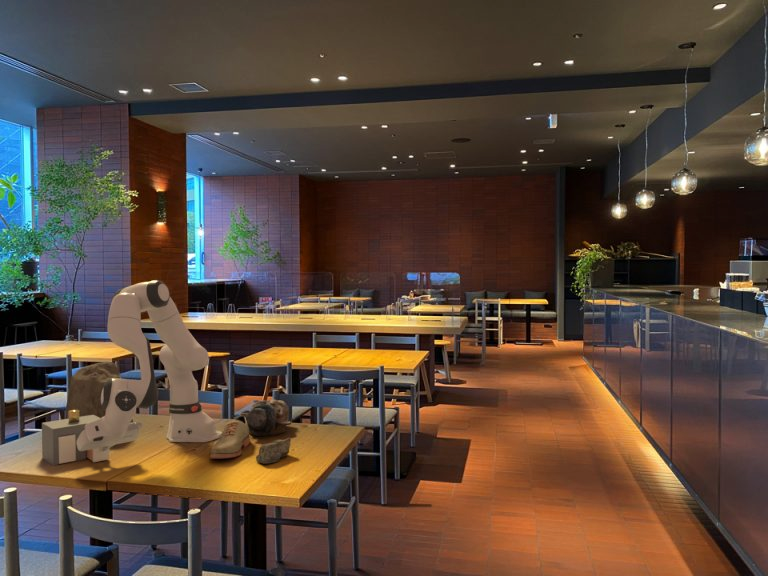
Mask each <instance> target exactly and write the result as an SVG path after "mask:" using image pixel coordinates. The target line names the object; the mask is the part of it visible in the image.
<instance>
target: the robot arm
mask: <svg viewBox="0 0 768 576" xmlns="http://www.w3.org/2000/svg"><path fill="white" fill-rule="evenodd" d="M145 312H147V314H148V317H149V319H150V321H151V324H152V326H153V328H154V330H155V332H156V334H157V336H158V339H160V341H162V342H163V343H164V344H165V345H163V346H162V347H161V349H160V351H159V353H158V358H159V360H160V362H161V363H162V365H163V366H164V369H165V372H166V375H167V379H168V384H169V401H170V402H169V403H168V412H169V423H168V429H167V430H168V431H167V434H166V436H165V438H166V439H167V440H168V441H169V443H171V442H172V443H209V442H211V441H214V440H217V439H219V438H220V436H221V434H222V433H223V431H220V430H217V426H216V425H217V424H216V422H215V420H214V419H213V418H212V417H210V416H209V414H207V413H205V412H204V411H203V408H202V407H204V403H200V401H199V395H198V394H199V384H198V381H197V379H195V377H194V374H193V372H194V371H198V370H202V369H204V368H205V367H206V366H207V364H208V362H209V353H208V351H207V349H206V348H205V347H204V346H202V345H201V344H200V343H199V342H198V341H197V340H196V339H195V337H194V336H193V335H192V333H191V332H190V330H189V329H188V328H187V326H186V325H185V322H184V321H183V319H182V316H181V314H180V312H179V310H178V308H177V305H176V303H175V302H174V300H173V299H172V298H171V292H170V289H169V286H168V285H167V284H166V283H165V282H163V281H162V280H157V279H155V280H151V281H150V280H149V281H143V282H139V283H135V284H133V285H129V286H127V287H121V288H120V289H117V291H115V293H114V294H113V298H112V301H111V303H110V307H109V312H108V318H107V335H108V337H109V339H110V341H111V342H113V344H115V345H116V346H118V347H120V348H122V349H124V350H127V351H128V352H131V353H132V354H133V355H135V356H136V357H137V359H138V362H139V369H140V378H141V379H132V378H131V379H129V378H121V379H119V378H111V379H109V380H108V381H107V382H106V383H105V384H104V385H103V387H102V390H101V394H100V404H101V406H102V408H103V409H104V411H106V415H105V416H104V417H102V418H100V419H98V420H96V421H93V422H90V423H87V424H86V425H85V430H83V431H82V432H81V434H80V435H79V437H78V439H77V442H76V444H77V448H78V450H79V451H85V450H90V449H95V448H99V450H100V452H102V451H107V450H109V451H110V448H112V447H114V446H115V445H121V444H123V443H129V442H134V441H136V440H138V437H139V434H140V429H141V428H142V426H143V424H142V423H141V422H139V421H136V422H133V423H130V422H131V420H132V418H133V419H134V416H135V413H136V411H137V408H138V409H143V410H144V409H145V410H147V409H150V408H151V407H152V406H153V405H155V404H156V403H157V401H158V396H159V390H158V384H157V381H156V380H157V379H156V374H155V369H154V368H155V367H154V361H153V355H152V354H153V353H152V346H151V342H150V340H149V338H148V337H147V336H145V335H144V333H143V331H142V326H141V323H142V322H141V318H142V317H141V315H142V313H145Z"/></svg>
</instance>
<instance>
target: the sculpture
mask: <svg viewBox="0 0 768 576" xmlns="http://www.w3.org/2000/svg"><path fill="white" fill-rule="evenodd" d="M289 412H290V407H289V406H288V404H287V403H286V402H285V401H284V400H277V399H273V398H272V399H270V400H269V401H267V400H265V399H264V400H263V399H262V400H258V401H256V402H255V403H253V404H252V405H251V408H250V410H249V409H248V410H247V409H246V410H243V411H241V412H240V416H245V418H246V421H247V423H248V427H249V435H251V436H253V437H257V438H265V436H266V437H271V436H276V435H280V434H283V433H285V432H286V427H287V426H290V425H292V421H289V414H290V413H289Z"/></svg>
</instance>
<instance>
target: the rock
mask: <svg viewBox="0 0 768 576" xmlns="http://www.w3.org/2000/svg"><path fill="white" fill-rule="evenodd" d="M291 440H292V439H291V438H290V437H287V438H286V439H275V440H273V441H271V442H269V443H263V444H262V445H260V447H259V449H258V455H257V454H256V455H255V461H256V462H257V463H259V464H265V465H266V464H272V463H278V461H280V458H284V457H286V456H288V454H289V453H290V447H291Z"/></svg>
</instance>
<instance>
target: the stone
mask: <svg viewBox="0 0 768 576" xmlns="http://www.w3.org/2000/svg"><path fill="white" fill-rule="evenodd" d="M111 378H119V379H122V376H121V374H120V371H119V369H118V365H117V364H116V363H114V362H113V361H103V362H97V363H94V364H93V363H92V364H90V365H86V366H83V367H81V368H79V369H78V370H76V371H75V373H74V374H73V375H72V377H71V380H70V384H69V390H68V395H67V401H66V404H65V416H64V417H65V418H64V419H69V414H68V411H70V410H79V417H82V416H88V415H95V416H97V417H99V418H102V417H104V416H105V415H106V411H104V409H103V408H102V406H101V404H100V394H101V390H102V387H103V385H104V384H105V383H106V382H107V381H108V380H109V379H111ZM130 423H134V417H133V418H132V420H131V422H130Z"/></svg>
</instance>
